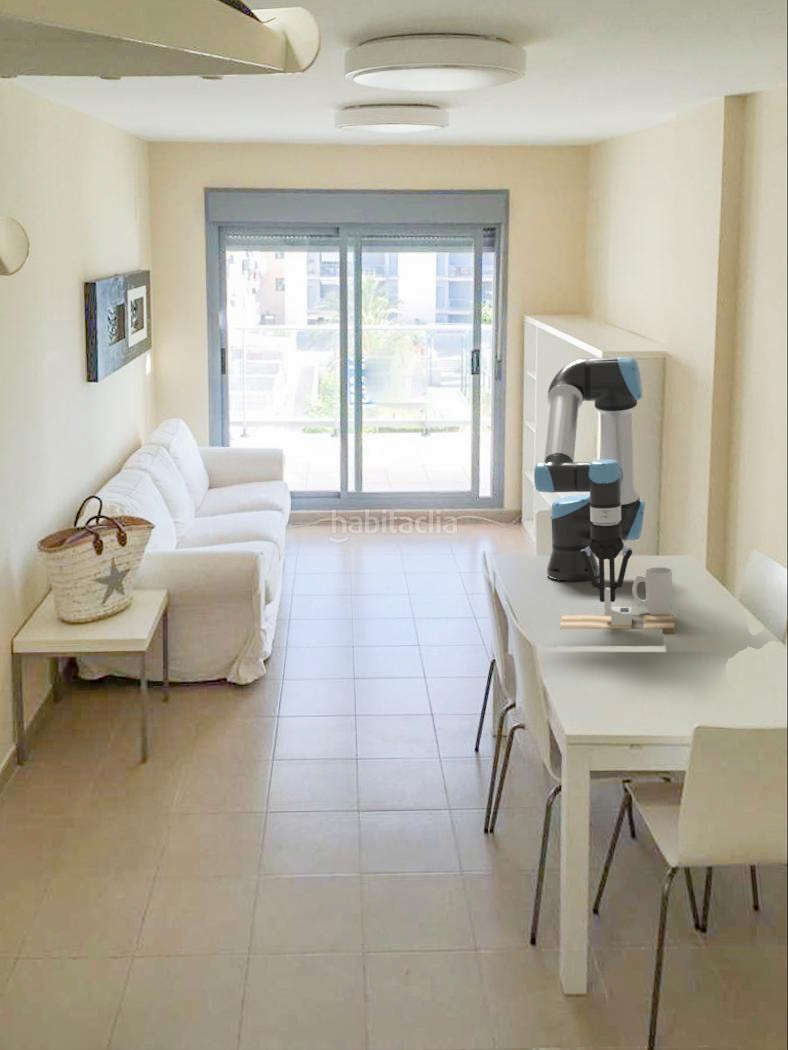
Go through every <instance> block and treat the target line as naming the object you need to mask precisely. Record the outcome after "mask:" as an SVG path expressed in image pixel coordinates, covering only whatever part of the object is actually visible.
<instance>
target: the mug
mask: <svg viewBox="0 0 788 1050" xmlns="http://www.w3.org/2000/svg"><path fill="white" fill-rule="evenodd" d="M644 574H645V575H643V576H642V575H640V574H639V575H636V576H635V579H634V581H633V584H632V590H631V591H632V596H633V598H634V599H635V602H636V604H637V606H643V607H645V609H646V613H647V614H649V615H673V614H672V609H673V607H672V606H673V598H672V597H673V593H672V592H673V569H672V568H669V567H663V566H659V567H658V566H657V567H650V568H649V567H648V568H646V569H644ZM641 582H644V583H645V599H641V598H640V597H639V596H638V592H637V590H638V589H637V588H638V585H639V584H640V583H641Z"/></svg>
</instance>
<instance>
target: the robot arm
mask: <svg viewBox="0 0 788 1050" xmlns="http://www.w3.org/2000/svg"><path fill="white" fill-rule="evenodd" d="M548 387H549V388H548V391H547V402H548V405H550V407H549V414H548V415H549V417H548V424H547V435H546V444H545V452H544V461H543V462H538V463H536V464H535V466H534V476H533V477H534V487H535V490H536V491H537V492H541V493H542V492H543V493H550V494H551V493H576V492H578V493H580V492H581V493H586V492H587V493H588V492H589V494H576V495H575V494H574V495H571V496H566V497H565V496H564V497H562V498H558V499H557V500H554V502H552V505H551V515H550V520H551V545H552V546H551V548H552V549H551V550H552V551H551V554H550V558H549V560H548V564H547V568H546V575H547V574H548V575H549V576H551V577H553V578H556V579H559V580H567V581H566V582H582V581H583V580H584V581H590V583H591V586H592V588H595V589H598V591H599V602H601V603H604V615H605V616H611V607H612V604H611V603H614V602H615V601H616V589H618V588H622V587H623V583H624V580H625V575H626V570H627V565H628V563H629V559H630V558H631V556H632V555H633V548H631V547H628V546H625V544H624V542H626V541H636V540H639V539H640V538H641V536H642V530H643V522H644V513H645V504H646V501H645V500H644V499H641V498H640V493H639V492H638V491H637V490H636V489H635V483H634V482H635V477H634V450H633V449H634V447H633V446H634V445H633V418H632V417H633V414H632V413H633V410H635V408H636V407H637V406H638V401H639V400H641V399H642V398H643V389H642V380H641V374H640V369H639V364H638V361H637V360H636V359H635V358H634V357H630V356H629V357H626V356H625V357H621V356H613V357H596V358H578V359H575V360H573V361H571V362H569V363H567V364H566V365H565V366H563V367H562V368H561V369H560V370H559V371H557V373H556V374H555V376H554V377H553V378H552V380H551V382H550V384H549V386H548ZM585 401H586V402H590V401H591V402H594V408H595V409H596V410H597V411H598V412H600V437H601V458H600V459H595V460H592V461H591V462H589V461H588V462H587V461H584V462H583V461H582V462H580V461H579V462H577V461H576V462H574V460H575V449H576V442H577V441H576V439H577V429H578V416H579V408H580V407H581V406H582V404H583V402H585ZM621 552H622V553H621ZM620 553H621V554H622V561H621V565H620V568H619V569H620V570H619V575H618V579H617V581H616V574H615V573H616V572H615V569H616V568H615V559H616V558H617V557H618V555H619V554H620ZM597 559H598V561H597ZM605 560H608V561H609V562H608V563H609V564H608V565H609V587H605V586H606V585H605ZM597 577H598V578H599V581H597ZM559 580H558V581H559Z"/></svg>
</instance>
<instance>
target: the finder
mask: <svg viewBox="0 0 788 1050" xmlns="http://www.w3.org/2000/svg"><path fill="white" fill-rule="evenodd" d="M632 613H633V612H632V606H611V625H632V615H633V614H632Z"/></svg>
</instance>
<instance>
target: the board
mask: <svg viewBox="0 0 788 1050" xmlns="http://www.w3.org/2000/svg"><path fill="white" fill-rule="evenodd" d="M675 627H676V626H675V620H674V614H672V615H655V614H632V625H611V616H605V614H574V615H573V614H562V615H561V619H560V624H559V630H562V629H564V630H565V629H566V630H567V629H568V630H569V629H570V630H571V629H572V630H573V629H574V630H575V629H577V630H580V629H583V630H584V629H585V630H586V629H587V630H588V629H589V630H591V629H595V630H597V629H599V630H600V629H605V630H606V629H615V630H617V629H622V630H623V629H639V630H640V629H647V630H648V629H661V630H662V634H675V633H676V632H675V631H676V628H675Z"/></svg>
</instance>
